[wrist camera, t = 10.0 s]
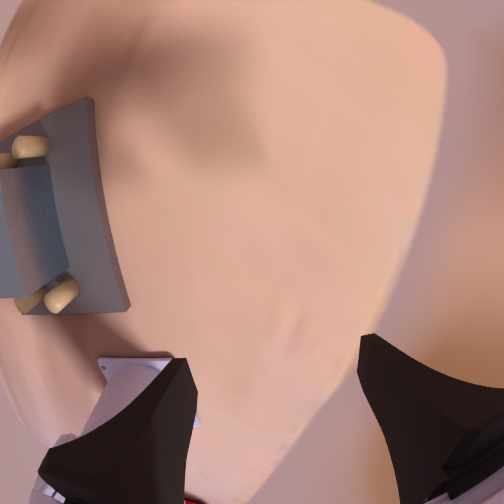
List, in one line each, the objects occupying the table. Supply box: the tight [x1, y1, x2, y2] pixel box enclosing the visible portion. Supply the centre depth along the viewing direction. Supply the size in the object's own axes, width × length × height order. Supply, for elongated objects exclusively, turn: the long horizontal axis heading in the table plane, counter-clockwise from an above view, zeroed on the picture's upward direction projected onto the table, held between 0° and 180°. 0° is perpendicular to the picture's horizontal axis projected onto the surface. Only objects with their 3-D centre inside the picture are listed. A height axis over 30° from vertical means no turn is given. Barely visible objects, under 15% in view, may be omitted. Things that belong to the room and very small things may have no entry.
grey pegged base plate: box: [0, 98, 131, 315], centre depth 16 cm, size 16×13×4 cm
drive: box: [0, 165, 70, 298], centre depth 14 cm, size 8×5×6 cm, turn 7°
